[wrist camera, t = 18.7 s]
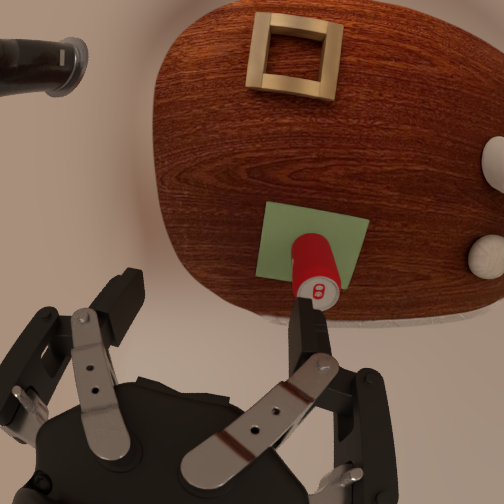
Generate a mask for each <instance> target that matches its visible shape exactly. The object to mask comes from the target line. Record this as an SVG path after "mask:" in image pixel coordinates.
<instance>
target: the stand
mask: <svg viewBox="0 0 504 504" xmlns="http://www.w3.org/2000/svg"><path fill="white" fill-rule="evenodd" d="M271 33H272V34H280V35H288V36H295V37H301V38H307V39H313V40H318V41H322V50H321V58H320V65H319V73H318V80H317V81H312V80H306V79H300V78H294V77H288V76H281V75H273V74H266V68H267V61H268V53H269V46H270V39H271ZM342 36H343V25H341V24H336V23H332V22H327V21H323V20H318V19H312V18H306V17H300V16H294V15H286V14H277V13H267V12H255V19H254V26H253V32H252V39H251V46H250V53H249V61H248V68H247V76H246V83H245V86H246V87H247V88H248V89H252V90H261V91H263V90H264V91H269V92H277V93H284V94H291V95H297V96H303V97H308V98H313V99H319V100H323V101H328V102H329V101H333V100H334V99H335V92H336V85H337V78H338V70H339V62H340V54H341V45H342Z"/></svg>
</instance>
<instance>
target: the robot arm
mask: <svg viewBox="0 0 504 504" xmlns="http://www.w3.org/2000/svg"><path fill="white" fill-rule="evenodd" d="M78 64H79V52H78V49H77V48H76V46H75V45H73V44H70V43H59V42H51V41H41V40H26V39H0V97H2V96H8V95H15V94H22V93H30V92H41V91H59V90H61V89H63V88H65V87H66V86H67V85H68V84H69V83H70V82H71V80H72V79H73V77H74V75H75V73H76V71H77V68H78ZM144 299H145V289H144V280H143V272H142V270H139V269H134V268H127V269H126V270H125V271H124V273H123V274H122V275H117V276H115V277H114V278H112V279H111V280H110V281H109V282H108V283H107V284H106V287H104V288H103V289H102V292H100V293H99V295H98V296H97V297H96V298H95V300H94V301H93V302H92V304H91V305H90V306H89V308H82V309H79V310H77V311H76V312H74V313H73V315H72V316H60V315H59V314H58V311H57V309H56V308H54V307H50V306H49V307H44V308H42V309H40V310H39V311H38V312H37V313H36V314H35V316H34V317H33V318H32V320H31V321H30V322H29V324H28V325H27V326H26V328H25V329H24V330H23V332H22V333H21V335H20V336H19V338H18V339H17V340H16V342H15V343H14V345H13V346H12V348H11V349H10V351H9V352H8V354H7V355H6V357H5V358H4V360H3V361H2V363H1V365H0V428H1V429H2V430H4V431H5V432H6V433H7V434H8V435H10V436H12V437H13V438H14V439H15V440H17V441H18V442H19V443H21V444H29V445H31V446H32V447H34V448H36V468H35V472H34V474H33V476H32V477H31V479H30V480H29V481H28V482H27V483H26V484H25V485H24V486H23V487H22V488H20V489H19V490H18V491H17V493H16V494H15V497H14V499H13V503H12V504H397V502H398V497H399V494H398V478H397V467H396V456H395V447H394V439H393V432H392V425H391V419H390V413H389V406H388V400H387V395H386V390H385V385H384V380H383V377H382V376H381V374H380V373H378V372H377V371H376V370H374V369H371V368H363V369H361V370H359V371H358V372H357V373H355V372H352V371H349V370H346V369H343V368H342V367H340V366H339V364H338V362H337V360H336V359H335V358H334V357H332V354H331V347H330V342H329V335H328V329H327V323H326V318H325V316H324V314H323V313H322V312H321V310H318V309H313V303H312V299H311V298H303V297H297V298H296V300H295V304H294V307H293V311H292V314H291V317H290V321H289V328H288V339H289V379H288V380H287V381H285V382H284V381H281V382H279V383H278V384H277V385H276V386H275V387H274V388H272V389H271V390H270V391H269V392H268V393H267V394H266V395H265V396H264V397H262V398H261V399H260V400H259V401H258V402H257V403H256V404H254V405H253V406H252V407H251V408H250V409H249V410H247V411H246V412H244V411H243V410H241V409H240V408H238V407H236V406H234V405H232V404H230V403H229V399H230V397H226V396H220V395H215V394H209V393H180V392H178V391H176V390H174V389H172V388H169V387H167V386H166V385H164V384H162V383H160V382H156V381H153V380H149V379H146V378H142V377H138V378H137V381H136V382H127V383H122V384H118V382H117V378H116V375H115V372H114V368H113V365H112V361H111V357H110V354H109V350H108V349H109V347H110V345H112V346H115V347H119V345H120V343H121V341H122V340H123V338H124V336H125V334H126V332H127V330H128V329H129V327H130V325H131V324H132V322H133V320H134V318H135V317H136V315H137V313H138V312H139V310H140V308H141V307H142V305H143V303H144ZM46 346H48V348H47V350H46V352H45V353H44V355H43V357H42V358H41V355H42V353H43V351H44V350H45V348H46ZM71 358H72V362H73V369H74V375H75V381H76V387H77V392H78V396H79V401H80V404H79V405H77V406H75V407H73V408H71V409H69V410H67V411H65V412H64V413H62V414H60V415H57V416H55V417H53V418H51V419H50V420H48V415H49V414H48V413H49V412H48V408H47V405H48V403H49V401H50V399H51V397H52V395H53V393H54V391H55V389H56V386H57V384H58V382H59V380H60V379H61V377H62V375H63V373H64V371H65V369H66V367H67V365H68V363H69V362H70V360H71ZM316 406H317V407H320V408H323V409H326V410H329V411H332V412H333V415H334V469H333V470H331V471H330V472H328V473H327V474H326V475H324V476H323V477H322V479H321V481H320V484H319V487H318V490H317V491H316V492H315V493H314V494H312V495H308V493H307V491H306V489H305V487H304V486H303V485H302V483H301V482H300V481H299V480H298V479H297V478H296V476H295V475H294V474H293V473H292V471H291V470H290V469H289V468H288V466H287V465H286V464H285V463H284V461H283V460H282V459H281V457H280V456H279V455H278V454H277V452H276V450H277V449H278V448H279V447H280V446H281V445H282V444H283V443H284V442H285V441H286V440H287V439H288V437H289V436H290V435H291V434H292V433H293V431H294V430H295V429H296V428H297V427H298V426H299V425H300V424H301V423H302V422H303V420H304V419H305V418H306V417H307V416H308V415H309V414H310V412H311V411H312V410H313V409H314V408H315V407H316Z"/></svg>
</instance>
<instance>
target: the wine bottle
mask: <svg viewBox="0 0 504 504" xmlns="http://www.w3.org/2000/svg"><path fill="white" fill-rule="evenodd" d="M482 170H483V174H484V176H485V178H486V180H487V182H488V183H489V184H490V185H491V186H492V187H493V188H495V189H497V190H499V191H501V192H502V193H504V137H499V136H498V137H493V138H491V139H490V140H489V141H488V142H487V144H486V145H485V147H484V150H483V154H482Z"/></svg>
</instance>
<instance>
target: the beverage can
mask: <svg viewBox="0 0 504 504" xmlns="http://www.w3.org/2000/svg"><path fill="white" fill-rule="evenodd" d="M291 264H292V289H293V294H294V296H295V298H297V297H303V298H311V299H312V303H313V309H318V310H321V311H324V310H327V309H329V308H331V307H332V306H333V305H334V304H335V303H336V302H337V300H338V298H339V294H340V291H341V279H340V276H339V272H338V269H337V266H336V262H335V259H334V256H333V253H332V250H331V247H330V244H329V242H328V240H327V239H326V238H325V237H324V236H322V235H320V234H317V233H306V234H303V235H301V236H299V237H298V238H297V239H296V240H295V241H294V243H293V245H292V247H291Z"/></svg>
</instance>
